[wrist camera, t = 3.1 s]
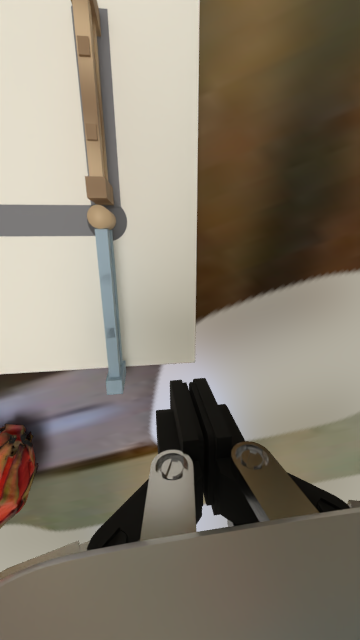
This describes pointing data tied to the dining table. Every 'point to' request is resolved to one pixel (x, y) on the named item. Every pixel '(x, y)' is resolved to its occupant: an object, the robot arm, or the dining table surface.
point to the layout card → (123, 175)
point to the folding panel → (109, 295)
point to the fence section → (92, 99)
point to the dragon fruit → (15, 470)
